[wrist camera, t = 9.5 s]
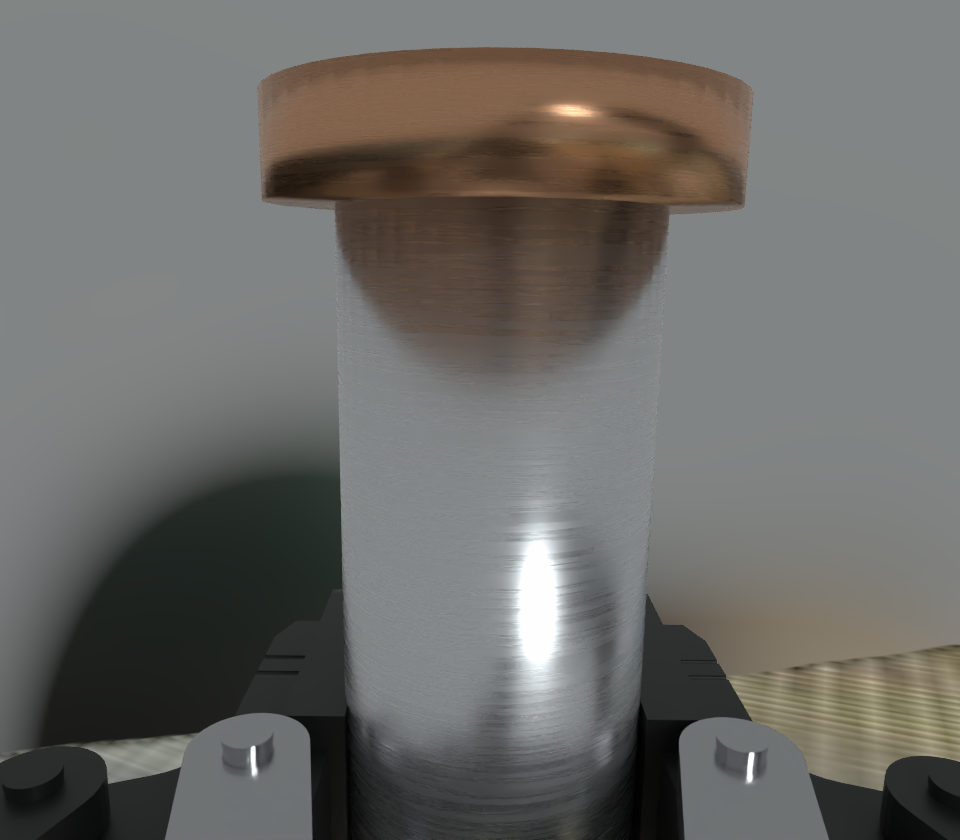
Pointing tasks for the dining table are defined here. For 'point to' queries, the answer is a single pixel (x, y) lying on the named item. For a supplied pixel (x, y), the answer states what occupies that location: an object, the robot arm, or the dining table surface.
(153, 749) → the dining table surface
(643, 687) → the robot arm
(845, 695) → the dining table surface
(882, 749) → the dining table surface
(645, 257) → the lock pin
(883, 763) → the dining table surface
